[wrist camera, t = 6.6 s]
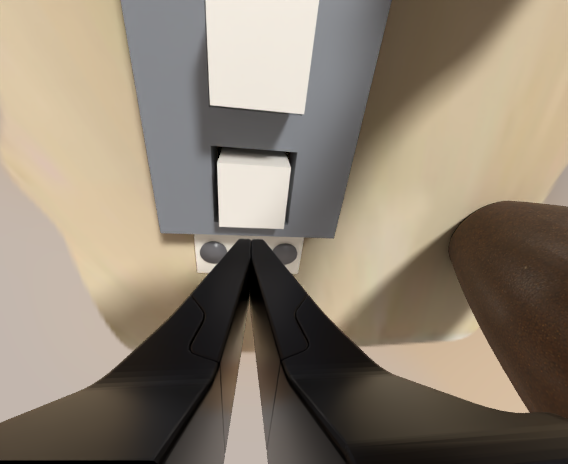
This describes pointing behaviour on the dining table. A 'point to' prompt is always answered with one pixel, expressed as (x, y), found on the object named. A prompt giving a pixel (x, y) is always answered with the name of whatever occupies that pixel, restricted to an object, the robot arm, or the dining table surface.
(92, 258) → the dining table surface
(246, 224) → the button
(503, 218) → the plant pot
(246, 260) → the robot arm
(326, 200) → the button board
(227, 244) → the pattern card
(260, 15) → the button middle
